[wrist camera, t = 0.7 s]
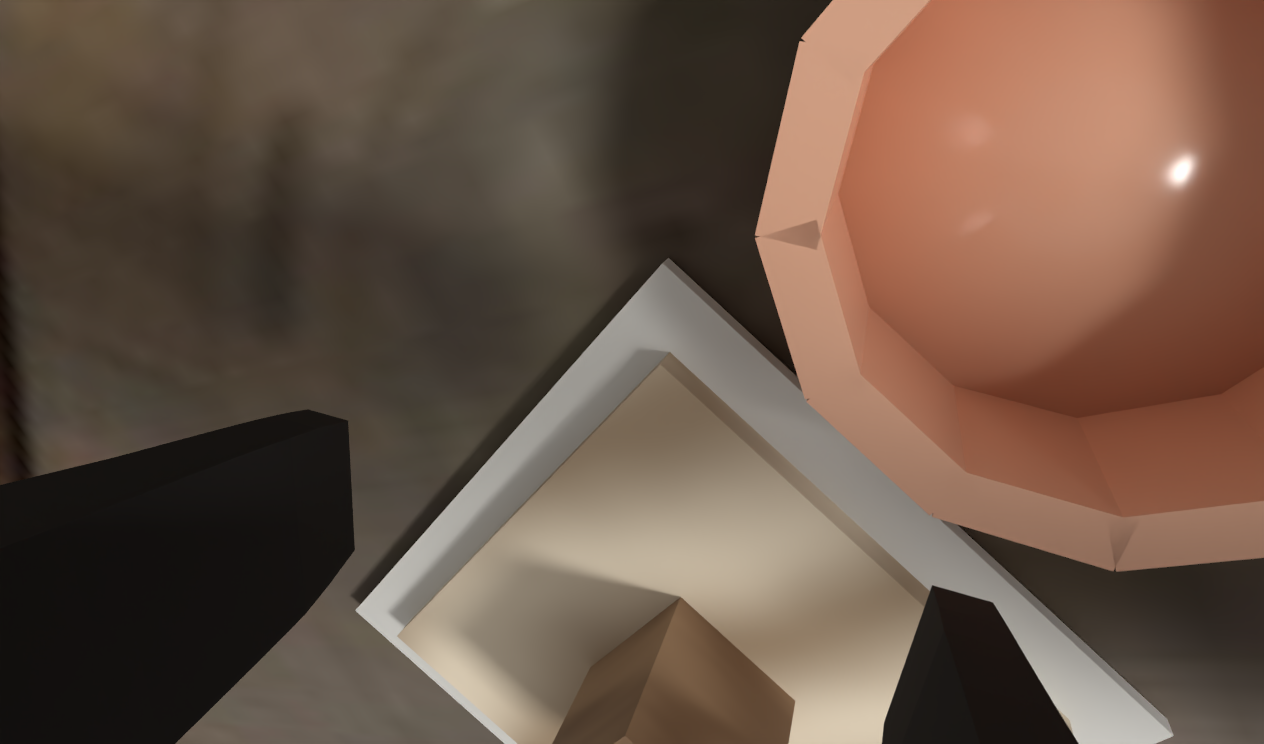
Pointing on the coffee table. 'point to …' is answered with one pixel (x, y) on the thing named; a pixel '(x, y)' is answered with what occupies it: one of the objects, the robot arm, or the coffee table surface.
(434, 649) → the cover board
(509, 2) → the coffee table surface
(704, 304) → the mat
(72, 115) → the coffee table surface
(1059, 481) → the bowl
